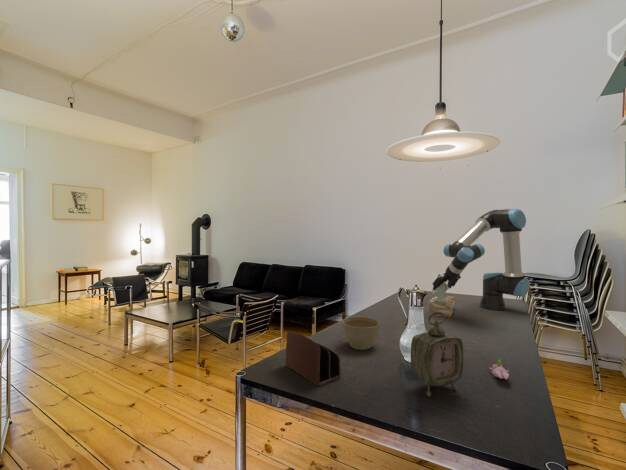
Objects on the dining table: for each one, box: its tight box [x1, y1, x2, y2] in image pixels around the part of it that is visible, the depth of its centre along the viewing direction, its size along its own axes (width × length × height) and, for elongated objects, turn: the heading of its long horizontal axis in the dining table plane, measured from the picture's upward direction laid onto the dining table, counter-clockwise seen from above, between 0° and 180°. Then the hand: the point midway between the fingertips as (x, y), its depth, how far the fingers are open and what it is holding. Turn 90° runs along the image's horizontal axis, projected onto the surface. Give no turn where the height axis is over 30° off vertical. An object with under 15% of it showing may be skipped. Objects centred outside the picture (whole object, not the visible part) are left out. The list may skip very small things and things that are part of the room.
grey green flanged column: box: [433, 281, 449, 302], centre depth 195 cm, size 8×8×14 cm
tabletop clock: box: [410, 312, 464, 397], centre depth 102 cm, size 14×9×25 cm, turn 114°
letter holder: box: [285, 331, 341, 386], centre depth 115 cm, size 10×20×14 cm, turn 38°
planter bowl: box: [342, 316, 381, 351], centre depth 140 cm, size 16×16×11 cm
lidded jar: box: [446, 294, 455, 307], centre depth 207 cm, size 11×11×9 cm
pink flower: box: [488, 359, 510, 380], centre depth 111 cm, size 6×6×15 cm
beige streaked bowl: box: [428, 297, 454, 318], centre depth 195 cm, size 12×12×8 cm
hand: (437, 292), depth 199 cm, fingers closed on grey green flanged column, 6 cm apart
